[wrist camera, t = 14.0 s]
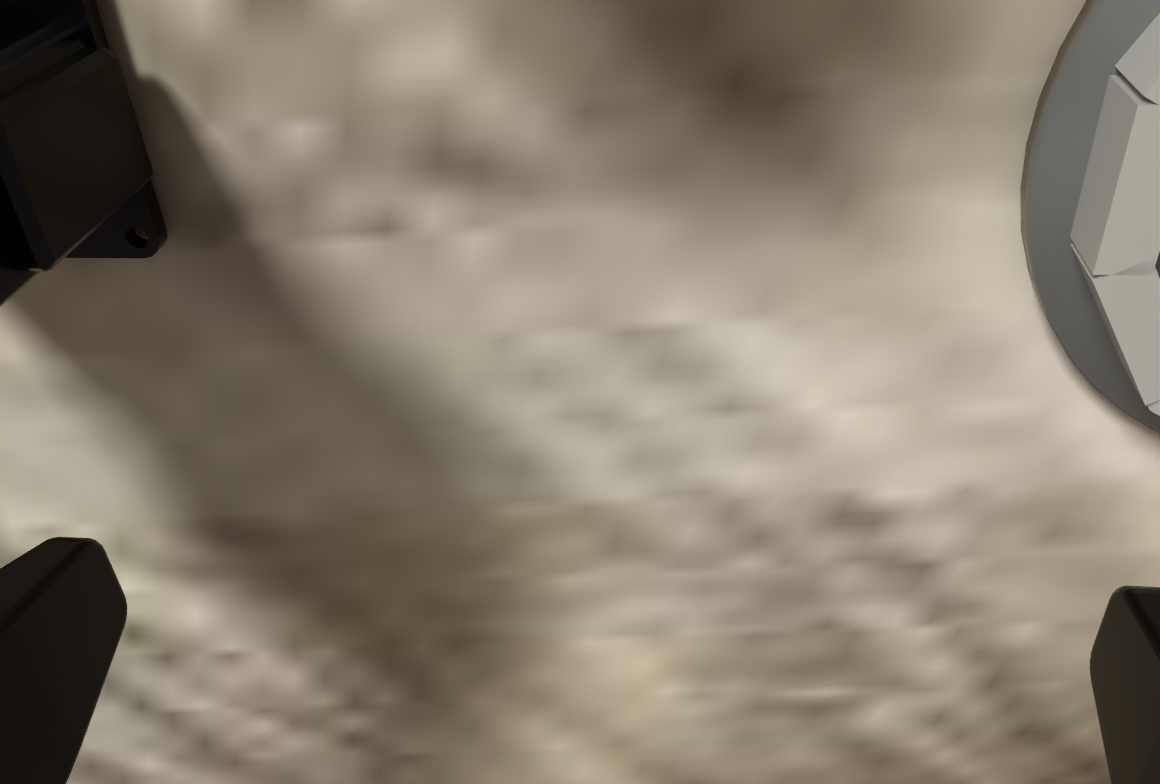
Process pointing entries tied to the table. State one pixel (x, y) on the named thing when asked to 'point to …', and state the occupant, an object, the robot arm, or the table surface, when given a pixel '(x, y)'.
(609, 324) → the table surface
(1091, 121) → the grey shallow dish
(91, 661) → the robot arm
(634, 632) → the table surface
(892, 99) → the table surface
